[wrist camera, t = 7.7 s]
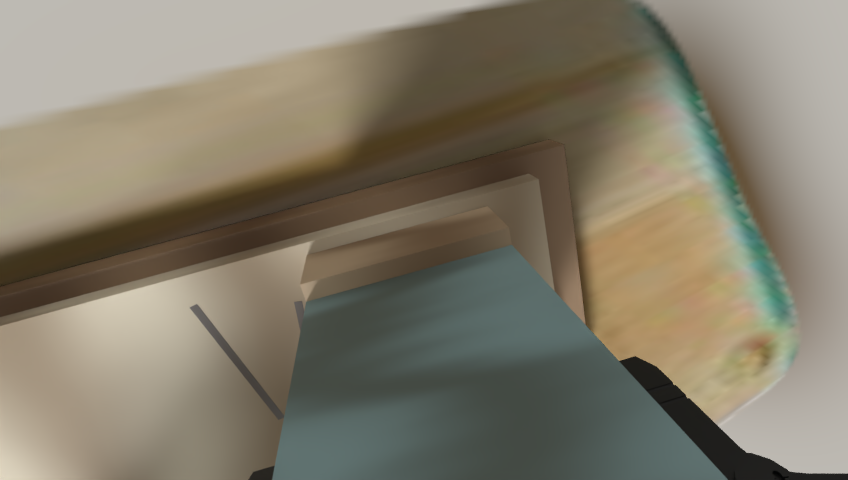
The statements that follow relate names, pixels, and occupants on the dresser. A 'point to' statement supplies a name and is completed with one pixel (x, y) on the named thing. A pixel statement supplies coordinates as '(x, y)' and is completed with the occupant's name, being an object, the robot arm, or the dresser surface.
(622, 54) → the dresser surface
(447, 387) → the block
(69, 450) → the board
